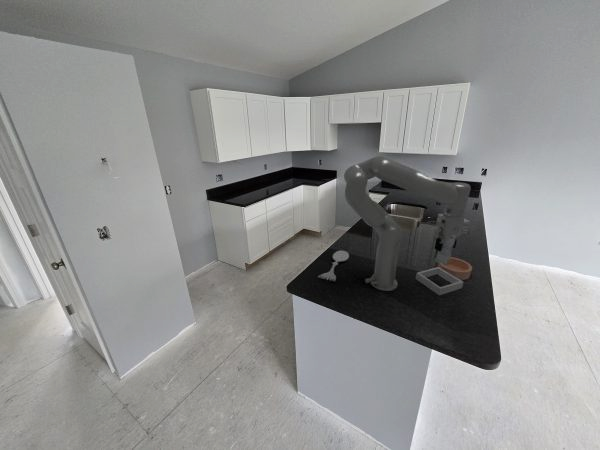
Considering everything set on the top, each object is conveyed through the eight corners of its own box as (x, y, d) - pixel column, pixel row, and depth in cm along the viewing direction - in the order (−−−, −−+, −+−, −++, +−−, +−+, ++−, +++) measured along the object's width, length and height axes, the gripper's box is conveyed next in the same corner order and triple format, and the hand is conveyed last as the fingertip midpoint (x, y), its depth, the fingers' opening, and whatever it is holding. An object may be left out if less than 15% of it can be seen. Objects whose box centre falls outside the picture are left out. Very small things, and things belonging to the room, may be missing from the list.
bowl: (455, 282, 122) (457, 274, 120) (431, 267, 134) (432, 260, 133) (476, 276, 126) (478, 268, 125) (451, 262, 139) (453, 255, 137)
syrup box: (436, 256, 121) (442, 228, 115) (449, 260, 117) (457, 232, 112) (433, 261, 116) (439, 232, 111) (447, 265, 113) (455, 236, 107)
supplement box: (467, 234, 173) (471, 221, 170) (449, 234, 173) (451, 222, 169) (452, 224, 189) (455, 213, 185) (435, 225, 188) (437, 213, 185)
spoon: (317, 281, 125) (317, 276, 124) (335, 253, 152) (336, 247, 151) (334, 286, 122) (335, 280, 120) (350, 255, 148) (350, 250, 147)
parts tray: (439, 295, 113) (440, 289, 112) (415, 278, 125) (416, 272, 124) (461, 288, 118) (463, 281, 116) (436, 272, 130) (438, 266, 128)
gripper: (446, 217, 101) (437, 255, 108) (476, 212, 107) (466, 249, 114) (431, 211, 108) (423, 248, 115) (460, 207, 114) (451, 242, 120)
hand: (444, 248), depth 114 cm, fingers closed on syrup box, 7 cm apart
